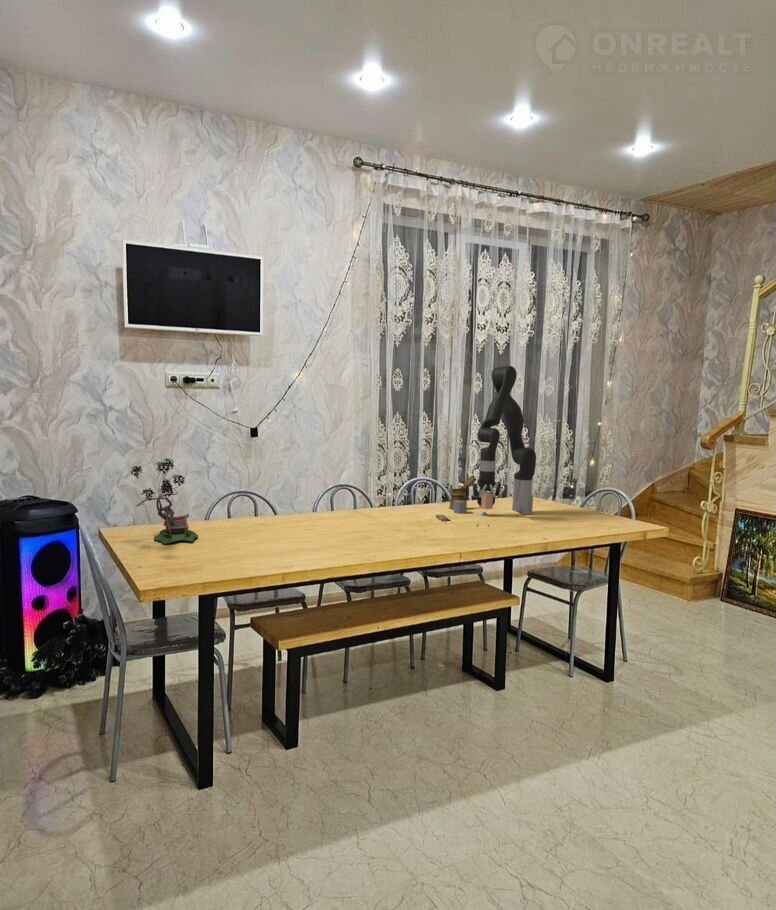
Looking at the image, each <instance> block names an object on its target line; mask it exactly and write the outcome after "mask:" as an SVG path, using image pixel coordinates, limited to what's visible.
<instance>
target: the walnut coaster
mask: <svg viewBox="0 0 776 910" xmlns="http://www.w3.org/2000/svg"><path fill="white" fill-rule="evenodd" d="M435 517H437V518H436V519H438V520H439V521H440V520H441V521H452V520H451V519H450V518H448V517H447V516H445V515H444V514H435ZM441 521H440V522H441Z"/></svg>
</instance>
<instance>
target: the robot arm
mask: <svg viewBox="0 0 776 910" xmlns="http://www.w3.org/2000/svg"><path fill="white" fill-rule="evenodd" d="M517 375H518V373H517V370H516V368H515V367H514V366H513V365H503V366H496V367H494V368H493V369H492V370H491V375H490V376H491V381H492V384H493V388H494V390H495V393H496V395H495V396H494V398H493V399H492V400H491V402H490V404H489V406H488V408H487V412H486V416H485V418H484V420H483V422H482V424H481V425H480V426H479V429H478V431H477V434H476V435H477V440H478V441H479V442H480V443H488V444H489V445H488V446H487V447H482V448H481V449H480V454H479V455H480V457H479V458H480V459H479V466H478V467H479V469H478V482H476V483H474V482H473V484H472V485H471V486H472V492H473V493H472V494H473V496H474V497H477V499H476V500H477V502H476V503H477V504H478V506H479V505H481V496H482V494H483V492H490V493H492V494H493V506H494V504H495V503H496V497H498V496H500V493H501V488H502V484H501V483H500V482H496V469H497V468H496V452H497V448H498V445H499V441H500V439H501V433H500V431H499V429H498V428H496V427H495V426H498V425H499V424H500V423H501V420H502V417H503V420H504V424H505V427H506V432H507V435H508V441H509V446H510V447H509V448H510V454H511V458H512V461H513V462H514V463H515V464H516V465H519V469H518V471H516V472H514V474H513V491H512V503H511V504H512V507H511V511H514V512H516V513H519V514H521V515H523V514H526V515H532V514H533V507H534V494H533V481H534V480H533V479H534V476H535V474H536V473H535V472H536V464H537V455H536V451H535V449H533V448H531V447H526V446H525V444H524V443H525V442H524V439H523V429H524V424H525V421H524V416H523V411H522V408H521V406H520V405H519V404H518V402H517V401H516V400H515V399H514V398H513V397H512V395H511V392H512V390H513V388H514V387H515V383H516V380H517V377H518V376H517ZM478 487H479V490H478ZM494 488H495V489H494Z"/></svg>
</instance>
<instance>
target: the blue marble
mask: <svg viewBox="0 0 776 910" xmlns="http://www.w3.org/2000/svg"><path fill="white" fill-rule="evenodd" d="M480 516H481V517H488V513H487V512H486V511H485V512H484V511H483V512H482V513H481V514H480Z"/></svg>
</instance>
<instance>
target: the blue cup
mask: <svg viewBox="0 0 776 910" xmlns="http://www.w3.org/2000/svg"><path fill="white" fill-rule="evenodd" d="M467 507H468V500H466V501H464V500H455V501H454V510H453V513H454V514H457V515H458V514H459V515H464V514H467V509H468V508H467Z"/></svg>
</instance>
